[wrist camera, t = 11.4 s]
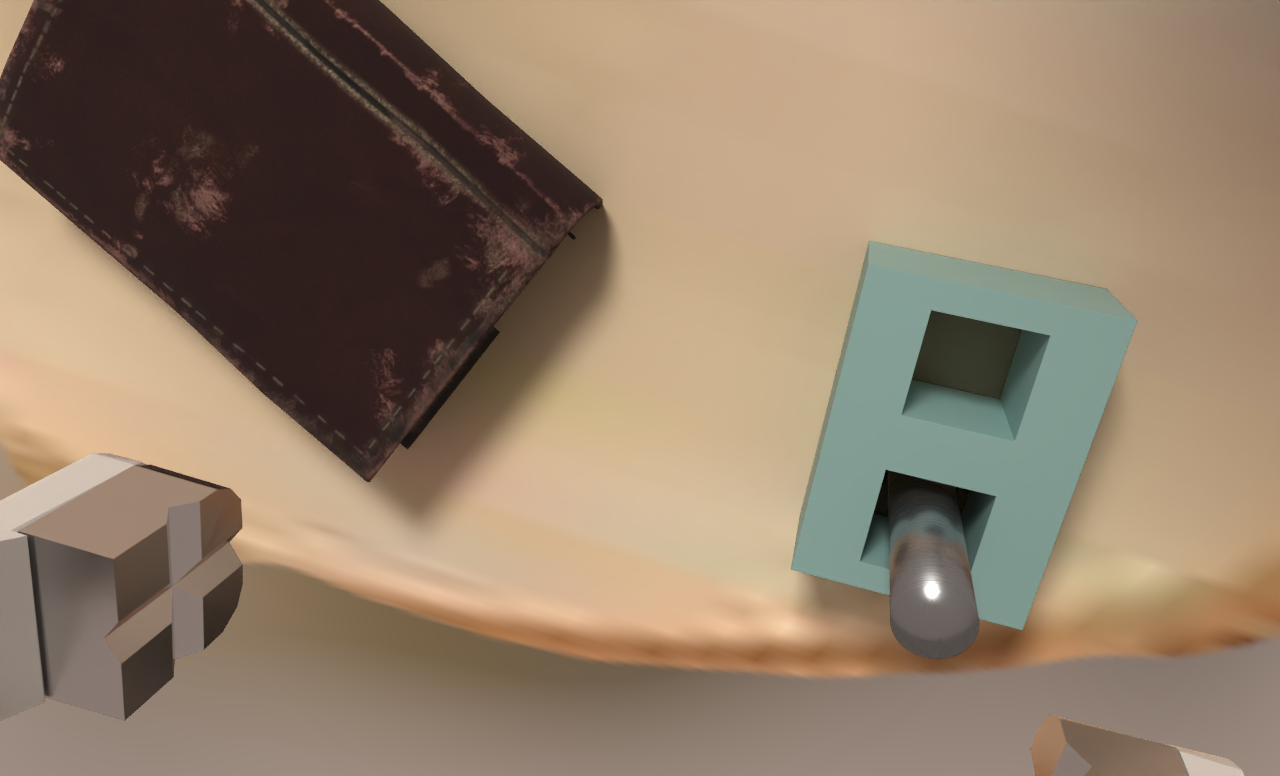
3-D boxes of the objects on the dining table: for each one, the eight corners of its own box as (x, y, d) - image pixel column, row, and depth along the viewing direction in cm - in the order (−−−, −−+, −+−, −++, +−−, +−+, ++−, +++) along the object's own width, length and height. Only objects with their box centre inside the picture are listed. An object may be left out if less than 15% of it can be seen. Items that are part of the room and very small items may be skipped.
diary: (200, -174, 43) (120, -203, 38) (614, 194, 44) (585, 209, 39) (45, 146, 50) (-39, 155, 45) (404, 455, 51) (358, 494, 46)
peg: (896, 444, 44) (902, 575, 33) (961, 460, 43) (990, 598, 32) (880, 500, 45) (880, 645, 34) (944, 516, 44) (965, 668, 33)
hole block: (869, 240, 41) (868, 264, 36) (1107, 289, 39) (1137, 320, 35) (799, 518, 46) (790, 569, 42) (1007, 571, 45) (1022, 630, 40)
